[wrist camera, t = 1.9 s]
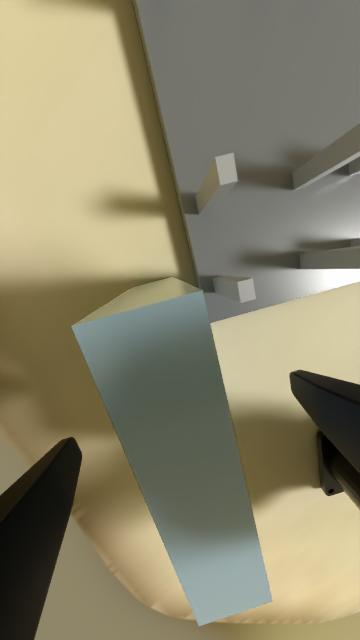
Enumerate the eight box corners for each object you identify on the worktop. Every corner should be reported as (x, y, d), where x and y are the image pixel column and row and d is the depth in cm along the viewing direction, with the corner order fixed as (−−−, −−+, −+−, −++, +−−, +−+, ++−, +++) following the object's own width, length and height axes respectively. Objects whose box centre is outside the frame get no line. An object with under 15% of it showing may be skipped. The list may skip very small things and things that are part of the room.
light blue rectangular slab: (209, 417, 14) (272, 601, 6) (176, 426, 14) (199, 626, 6) (172, 276, 11) (202, 290, 4) (131, 287, 11) (70, 326, 3)
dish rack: (431, 256, 13) (566, 250, 8) (205, 319, 12) (230, 346, 8) (477, -292, 7) (896, -1030, 3) (80, -225, 7) (-44, -1016, 3)
